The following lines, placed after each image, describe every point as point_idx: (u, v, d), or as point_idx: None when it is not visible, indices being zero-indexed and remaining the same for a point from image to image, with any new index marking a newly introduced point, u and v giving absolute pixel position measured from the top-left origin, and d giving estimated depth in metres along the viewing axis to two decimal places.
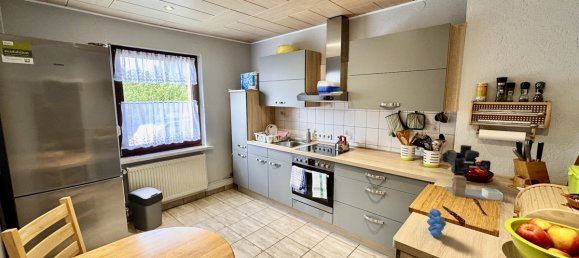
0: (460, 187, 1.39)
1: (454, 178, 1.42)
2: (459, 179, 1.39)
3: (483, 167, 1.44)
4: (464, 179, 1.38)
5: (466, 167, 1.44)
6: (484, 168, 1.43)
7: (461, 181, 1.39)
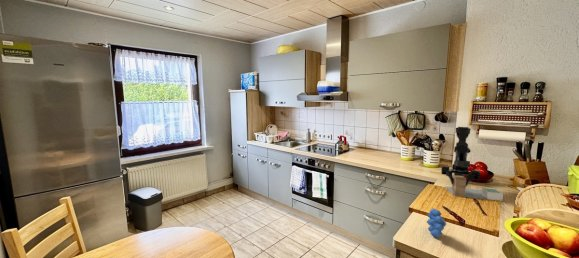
0: (460, 187, 1.39)
1: (454, 178, 1.42)
2: (459, 179, 1.39)
3: None
4: (464, 179, 1.38)
5: (451, 182, 1.43)
6: (466, 182, 1.40)
7: (461, 181, 1.39)
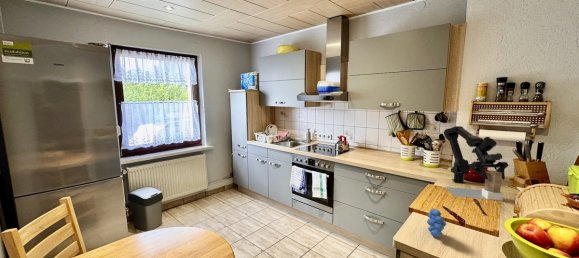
0: (497, 182, 1.35)
1: (490, 174, 1.36)
2: (497, 174, 1.34)
3: None
4: (500, 174, 1.35)
5: (484, 177, 1.37)
6: None
7: (498, 176, 1.34)
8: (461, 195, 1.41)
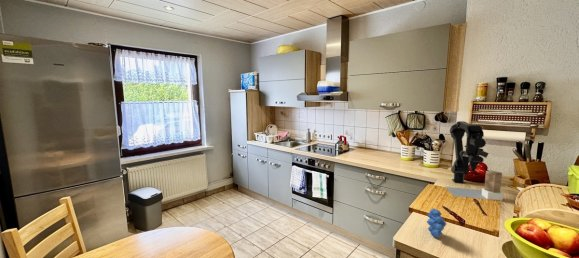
0: (497, 182, 1.35)
1: (490, 174, 1.36)
2: (497, 174, 1.34)
3: (466, 160, 1.55)
4: (500, 174, 1.35)
5: (472, 169, 1.46)
6: (465, 162, 1.55)
7: (498, 176, 1.34)
8: (461, 195, 1.41)
